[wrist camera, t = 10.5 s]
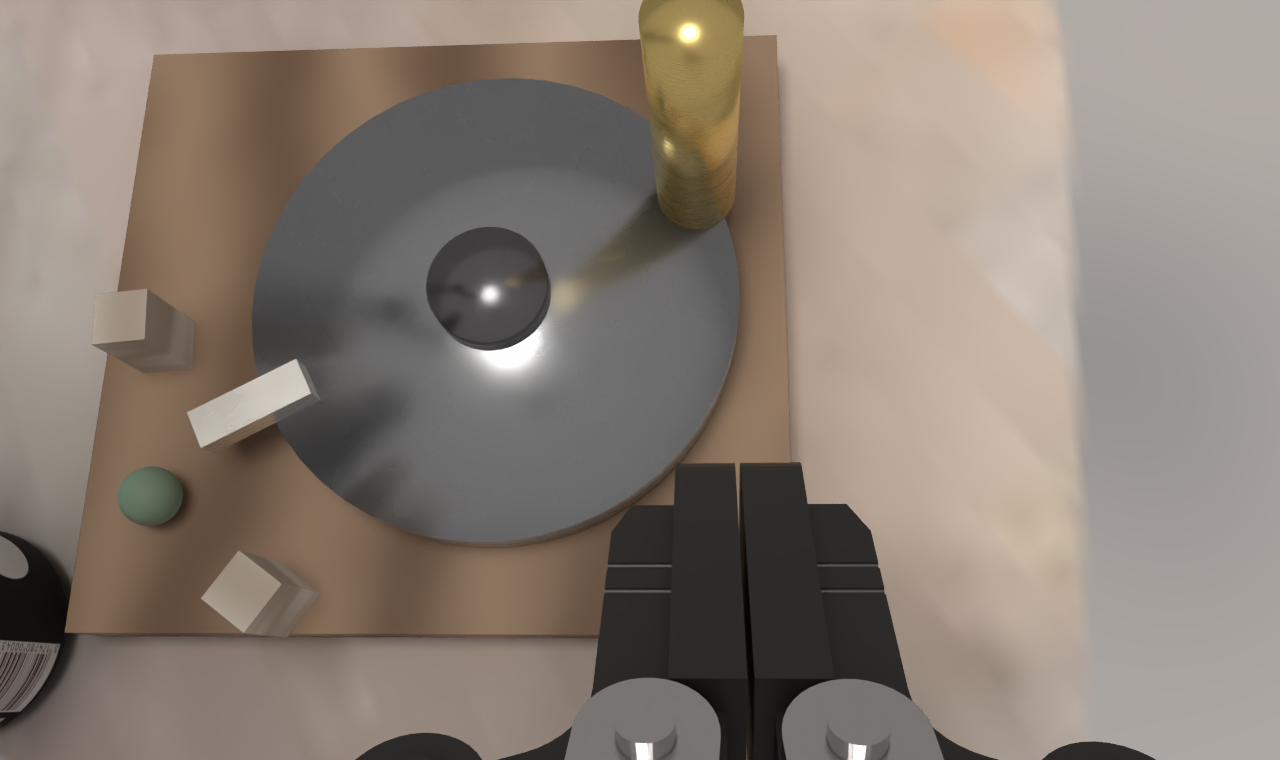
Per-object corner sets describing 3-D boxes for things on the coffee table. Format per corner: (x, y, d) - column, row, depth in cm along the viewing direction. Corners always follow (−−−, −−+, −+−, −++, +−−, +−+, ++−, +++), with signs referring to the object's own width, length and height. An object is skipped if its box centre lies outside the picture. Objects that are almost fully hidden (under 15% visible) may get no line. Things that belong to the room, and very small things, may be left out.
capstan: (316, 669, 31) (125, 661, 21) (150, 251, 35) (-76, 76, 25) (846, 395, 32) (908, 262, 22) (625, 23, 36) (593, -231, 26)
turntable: (100, 639, 34) (-1, 631, 29) (181, 85, 39) (108, 2, 35) (791, 642, 32) (806, 635, 28) (773, 68, 38) (782, -22, 33)
